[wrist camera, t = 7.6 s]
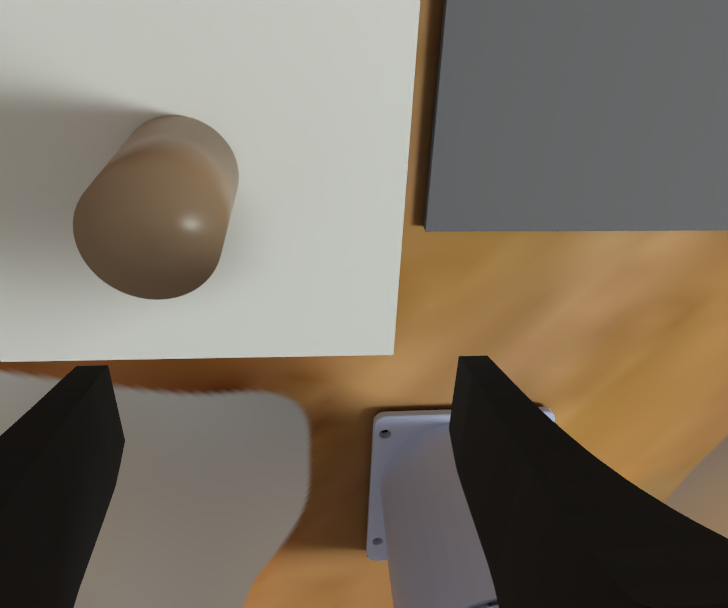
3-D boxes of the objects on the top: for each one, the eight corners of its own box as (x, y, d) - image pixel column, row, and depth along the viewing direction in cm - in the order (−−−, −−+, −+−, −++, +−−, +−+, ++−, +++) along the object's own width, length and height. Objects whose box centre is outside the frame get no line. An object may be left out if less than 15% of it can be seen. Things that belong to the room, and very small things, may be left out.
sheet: (391, 345, 21) (411, 442, 17) (7, 352, 19) (-66, 457, 16) (423, -86, 14) (467, -90, 10) (-138, -112, 13) (-318, -127, 9)
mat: (759, 225, 24) (766, 229, 24) (423, 227, 23) (425, 231, 22) (929, -210, 17) (942, -212, 17) (465, -239, 16) (469, -242, 16)
